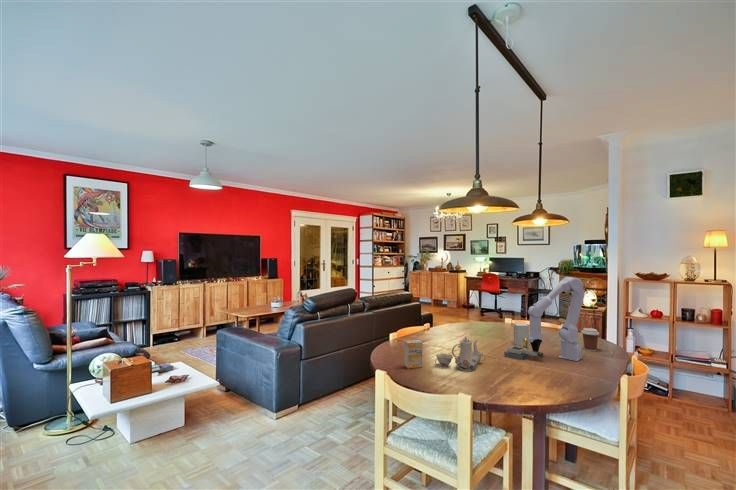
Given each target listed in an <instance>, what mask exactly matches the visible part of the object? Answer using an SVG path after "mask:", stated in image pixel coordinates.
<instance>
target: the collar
mask: <svg viewBox="0 0 736 490" xmlns="http://www.w3.org/2000/svg"><path fill="white" fill-rule="evenodd" d="M507 351H508V352H512V353H517V354H522V353H525V354H530V356H535V357H541V358H543V357H544V352H541V351H538V352H536V351H533V350H530V349H529V350H526V348H523V347H522V346H517V345H511V346H510V347H508V348H507Z"/></svg>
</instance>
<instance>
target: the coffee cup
mask: <svg viewBox="0 0 736 490" xmlns="http://www.w3.org/2000/svg"><path fill="white" fill-rule="evenodd" d="M582 329H583V330H581V332H580V333H581V334H582V340H583V341H582V342H583V349H584V350H585V351H588V352H597V351H598V340H599V339H598V338H599V335H600V332H598V330H597V329H596V328H593V327H592V328H591V327H584V328H582Z"/></svg>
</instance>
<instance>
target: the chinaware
mask: <svg viewBox="0 0 736 490" xmlns="http://www.w3.org/2000/svg"><path fill="white" fill-rule="evenodd" d="M477 343H478V339H475V340H474V341H472V340H470V339H469V338H468V337H467V336H464V338H463V339H461V340H459V343H456V344H454V345H453V347H452V349H451V353H450V354H446V353H440V354H438V353H437V354H435V356H436V359H435V365H436V366H440V367H442V366H443V368H448V365H450V364H452V363H451V362H452V359H453V358H454V363H455V364H456V366H457V369H458V370H460V371H464V372H473V371H475V370H476V367H478V363H481V361H482V362H483V361H485V360H486V358H484V359H483V360H482V357H484V353H483V352H480V351H479V350H478V349H479V348H478V346H477ZM472 345H473V348H472ZM456 347H458V349H459V354H458V355H455V354H454V351H455V348H456ZM437 362H438V363H437Z"/></svg>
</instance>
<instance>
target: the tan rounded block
mask: <svg viewBox="0 0 736 490" xmlns="http://www.w3.org/2000/svg"><path fill="white" fill-rule="evenodd" d="M529 346H530V344H529V345H528V337H524V338H522V346H521V347H523V348H526V350H530V347H529Z"/></svg>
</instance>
